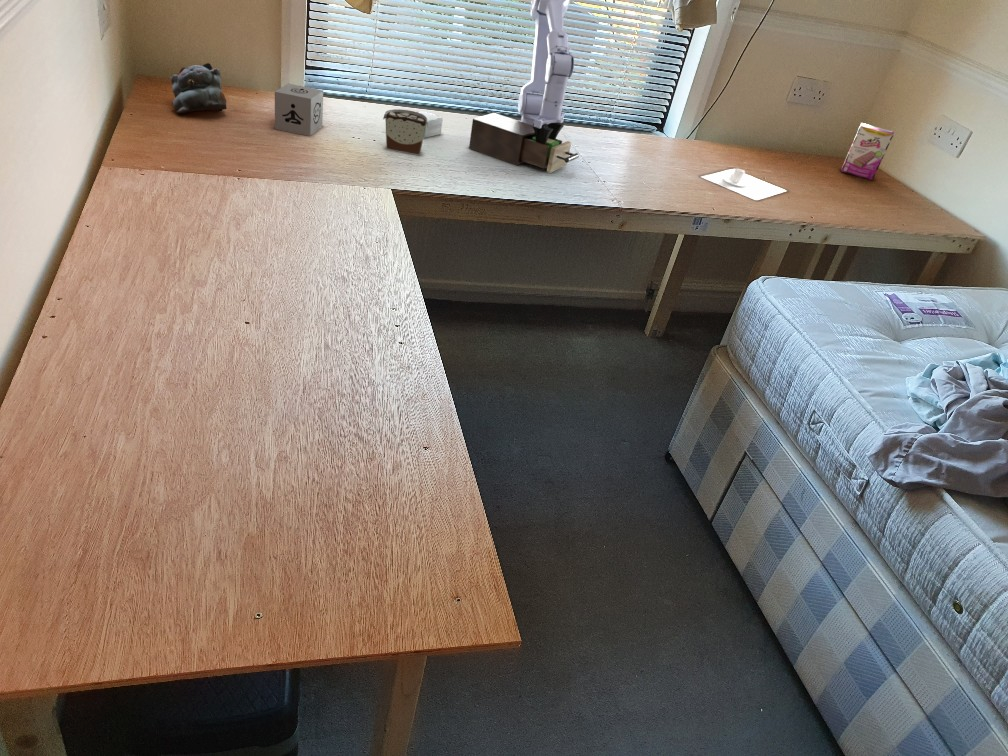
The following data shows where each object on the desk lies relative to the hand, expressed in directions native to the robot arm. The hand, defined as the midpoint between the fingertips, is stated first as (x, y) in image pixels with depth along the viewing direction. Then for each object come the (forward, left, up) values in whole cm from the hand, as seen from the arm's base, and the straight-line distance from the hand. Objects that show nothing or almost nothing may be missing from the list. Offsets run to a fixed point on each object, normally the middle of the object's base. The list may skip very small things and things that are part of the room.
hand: (543, 148), depth 216 cm
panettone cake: (+23, -31, -5) cm, 39 cm away
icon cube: (+35, -59, -5) cm, 69 cm away
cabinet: (0, -13, -5) cm, 14 cm away
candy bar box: (-97, +76, -5) cm, 123 cm away
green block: (0, 0, -1) cm, 1 cm away
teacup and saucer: (-45, +49, -5) cm, 67 cm away
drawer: (0, 0, -4) cm, 4 cm away
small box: (+6, -37, -5) cm, 38 cm away
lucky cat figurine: (+49, -83, -5) cm, 97 cm away
